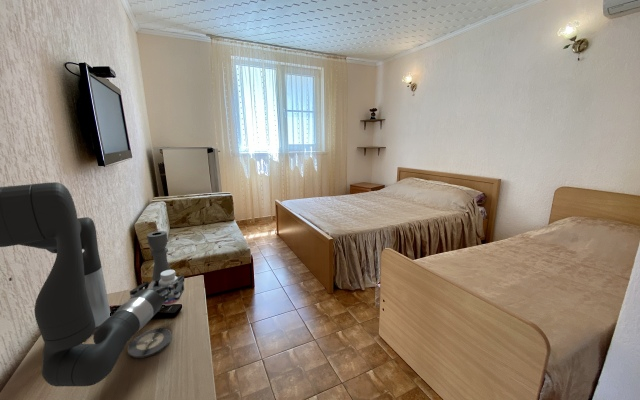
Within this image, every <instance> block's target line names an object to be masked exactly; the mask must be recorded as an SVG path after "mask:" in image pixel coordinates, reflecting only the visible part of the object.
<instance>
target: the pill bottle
mask: <svg viewBox="0 0 640 400" xmlns="http://www.w3.org/2000/svg"><path fill="white" fill-rule="evenodd" d="M160 275H161V280H160V281H159V287H162V286H164V285H166V284H168V283H170V284H171V283H173V282H174V281H175V280H176V279H177V278H178V277H179V276H176V271H175V270H174V269H171V270H166V271H163V272H162V273H161V274H160ZM173 288H175V286H173ZM167 289H168V288H167ZM180 299H181V297H180V298H179V299H178V300H175V298H169V299H168V300H167V301H165V302H164V303H163V304H162V305H165V306H171V305H174V304H176V303H178V302H179V301H180Z"/></svg>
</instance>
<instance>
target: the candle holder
mask: <svg viewBox="0 0 640 400" xmlns="http://www.w3.org/2000/svg"><path fill="white" fill-rule="evenodd" d="M146 240H147V244H148V246H149V248H150V249H151V251H150V252H149V254H150V255H151V256H152V257H153V270H152V277H151V279H152V281H155V280H156V279H157V278H158V277H160V276H161V275H160V274H161V273H162V272H163V271H166V270H172V269H171V267H170V264H169V261H168V255H167V253H168V252H169V249H168V247H167V245H168V242H169V239H168V233H167V231H166V230H165V231H164V230H159V231H153V232H149V233H148V234H146Z"/></svg>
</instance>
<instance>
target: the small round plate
mask: <svg viewBox="0 0 640 400" xmlns="http://www.w3.org/2000/svg"><path fill="white" fill-rule="evenodd" d="M171 340H172V332H171V331H170V330H169V329H166V328H160V327H159V328H155V329H150V330H148V331H145V332H143V333H140V334H139V335H138V336H136V337H134V338H133V339H132V340H131V341H130V343H129V344H128V347H127V353H128V355H129V356H130V357H131V358H135V359H143V358H144V359H145V358H147V357H151V356H154V355H156V354H157V353H159V352H161V351H164V349H165V348H166V347H167V346H168V345H169V344H170V342H171Z"/></svg>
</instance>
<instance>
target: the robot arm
mask: <svg viewBox="0 0 640 400" xmlns="http://www.w3.org/2000/svg"><path fill="white" fill-rule="evenodd" d="M96 229H97V227H96V225H95V221H94V220H93V219H92V218H91V217H78V213H77V208H76V206H75V202H74V199H73V196H72V194H71V192H70V191H69V189H68V188H67V186H65V185H64V184H62V183H61V182H42V183H41V182H40V183H33V184H31V183H30V184H21V185H20V184H19V185H8V186H0V248H6V247H13V246H24V247H30V248H35V249H40V250H41V249H42V250H46V251H48V252H49V253H52V254H56V257H55V260H54V263H53V265H52V268H51V270H50V272H49V273H48V276H47V278H46V279H45V280H44V281H45V282H44V283H43V285H42V287H41V289H40V290H39V293H38V294H37V297H36V299H35V304H34V317H35V322H36V324H37V326H38V330H39V332H40V335H41V338H42V340H43V342H44V343H43V351H42V366H41V375H42V378H43V379H44V381H46V383H47V384H49V386H53V387H91V386H95V385H96V384H98V383H100V382H101V381H103V380H104V379H105V378H106V377H108V376H109V374H110V373H111V372H112V370H113V369H114V367H115V366H116V364H117V361H118V359H119V357H120V356H121V354H122V352H123V350H124V348H125V347H126V346H127V345H126V344H127V343H128V342H129V341H130V340H131V339H132V338H133V337H134V336H135V335H136V334H137V333H138V332H139V331H140V330H141V329H143V327H145V325H147V324H148V322H150V321H151V319H152V318H153V317H154V316H155V315H156V314H157V313H158V312H159V311H160V310H161V308H162V307H163V306H162V304H163V303H164V302H165V301H167V300H168V299H169V298H175V300H178V299H179V298H180V299H181V297H182V294H183V292H184V291H185V284H184V282H185V277H184V275H179V276H177V277H178V278H177V279H176V280H175V281H174V282H173V283H171V284H170V283H168V284H166V285H164V286H162V287H159V281H160V280H161V276H160V277H158V278H157V279H156V280H155V281H153V280H151V281H150V282H149V281H144V282H143V283H141V284H139V285H138V286H136V287H134V288H133V289H132V290H130V291H129V297H130V298H129V299H128V300H127V301H125V302H124V303H122V304H121V306H119V307H118V308H117V310H115V312H114V313H112V314H111V316H110V313H111V308H110V302H109V298H108V297H109V296H108V292H107V287H106V283H105V282H106V280H105V277H104V271H103V266H102V261H101V257H100V252H99V245H98V237H97V230H96ZM173 286H175V288H173ZM167 288H168V289H167ZM92 336H93V337H92ZM91 337H92V338H93V339H92V340H93V343H84V342H86V341H87V340H88V339H90V338H91Z"/></svg>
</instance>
